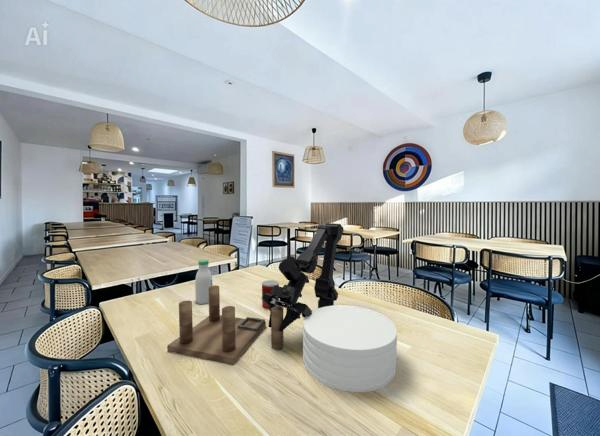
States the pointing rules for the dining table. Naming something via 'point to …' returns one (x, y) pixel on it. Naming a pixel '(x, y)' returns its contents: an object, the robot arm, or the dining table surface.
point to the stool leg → (276, 328)
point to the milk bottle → (203, 282)
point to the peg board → (215, 332)
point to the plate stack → (350, 348)
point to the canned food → (268, 290)
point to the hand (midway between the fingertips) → (274, 329)
